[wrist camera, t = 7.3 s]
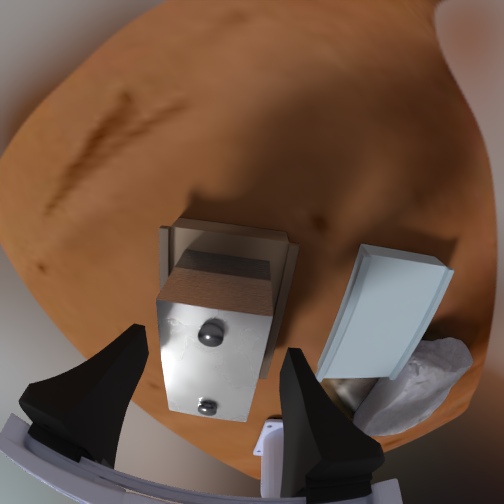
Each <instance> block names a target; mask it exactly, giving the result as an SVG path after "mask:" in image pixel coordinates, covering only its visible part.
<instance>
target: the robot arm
mask: <svg viewBox="0 0 504 504" xmlns="http://www.w3.org/2000/svg"><path fill="white" fill-rule="evenodd" d="M148 355H149V351H148V345H147V338H146V331H145V326H143V325H138V324H133V325H132V326H130V327H129V328H128V329H127V330H126V331H124V332H123V333H122V334H121V335H120V336H119V337H117V338H116V339H115V340H114V341H113V342H111V343H110V344H109V345H108V346H107V347H105V348H104V349H103V350H101V351H100V352H99V353H97V354H96V355H94V356H93V357H92V358H90V359H89V360H87V361H85V362H84V363H82V364H80V365H79V366H77V367H75V368H73V369H71V370H69V371H67V372H65V373H62V374H60V375H58V376H55V377H52V378H49V379H46V380H43V381H39V382H35V383H31V384H29V385H28V387H27V388H26V390H25V391H24V393H23V395H22V396H21V398H20V399H19V404H20V406H21V408H22V410H23V411H24V412H25V413H26V415H27V416H28V417H29V418H30V419H31V421H32V422H33V423H32V425H31V426H30V425H29V424H28V423H26V422H25V421H23V420H22V419H20V418H19V417H17V416H16V415H14V414H13V413H12V414H11V415H10V417H9V419H8V420H7V422H6V424H5V426H4V427H3V429H2V431H1V433H0V451H1V452H2V453H3V454H4V455H6V456H7V457H8V458H9V459H11V460H12V461H13V462H14V463H16V464H17V465H18V466H19V467H21V468H22V469H24V470H25V471H27V472H28V473H30V474H31V475H33V476H34V477H36V478H37V479H39V480H40V481H42V482H43V483H45V484H47V485H48V486H50V487H52V488H53V489H55V490H57V491H59V492H60V493H62V494H64V495H66V496H68V497H70V498H72V499H74V500H75V501H77V502H80V503H82V504H175V503H170V502H166V501H162V500H157V499H154V498H150V497H147V496H143V495H139V494H136V493H130V492H126V490H125V489H124V488H126V489H129V490H133V491H136V492H139V493H143V494H146V495H149V496H153V497H157V498H161V499H165V500H169V501H174V502H178V503H183V504H403V503H402V498H401V494H400V489H399V485H398V481H397V479H392V480H388V481H384V482H379V483H376V484H373V485H371V484H370V480H372V472H374V471H375V470H376V469H378V468H379V467H380V466H381V465H382V464H383V463H384V461H385V457H384V453H383V450H382V447H381V445H380V443H379V442H377V441H376V440H374V439H373V438H371V437H370V436H368V435H367V434H365V433H364V432H363V431H361V430H360V429H359V428H358V427H357V426H355V425H354V424H353V423H352V422H351V421H350V420H349V419H348V418H347V417H346V416H345V415H344V414H343V413H342V412H341V411H340V410H339V409H338V407H337V406H336V405H335V404H334V403H333V401H332V400H331V399H330V398H329V396H328V395H327V393H326V392H325V391H324V389H323V388H322V386H321V385H320V383H319V381H318V380H317V378H316V376H315V375H314V373H313V371H312V370H311V368H310V366H309V364H308V362H307V360H306V358H305V356H304V354H303V352H302V350H301V349H300V348H289V347H288V349H287V353H286V356H285V359H284V362H283V365H282V368H281V371H280V387H279V391H280V401H281V411H282V419H268V420H266V421H265V424H264V426H263V429H262V432H261V434H260V437H259V439H258V442H257V444H256V446H255V449H254V451H253V454H254V455H261V456H262V458H261V495H262V498H254V497H253V498H252V497H238V496H227V495H218V494H210V493H203V492H197V491H191V490H186V489H181V488H176V487H171V486H167V485H163V484H159V483H155V482H151V481H147V480H144V479H141V478H137V477H134V476H131V475H128V474H125V473H122V472H119V471H116V470H114V464H115V458H116V451H117V446H118V441H119V436H120V432H121V428H122V424H123V421H124V417H125V414H126V410H127V407H128V405H129V402H130V400H131V397H132V395H133V393H134V391H135V389H136V386H137V384H138V382H139V380H140V378H141V375H142V373H143V371H144V368H145V365H146V362H147V358H148ZM117 485H118V486H117ZM120 486H121V487H120ZM122 487H123V488H122Z"/></svg>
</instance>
